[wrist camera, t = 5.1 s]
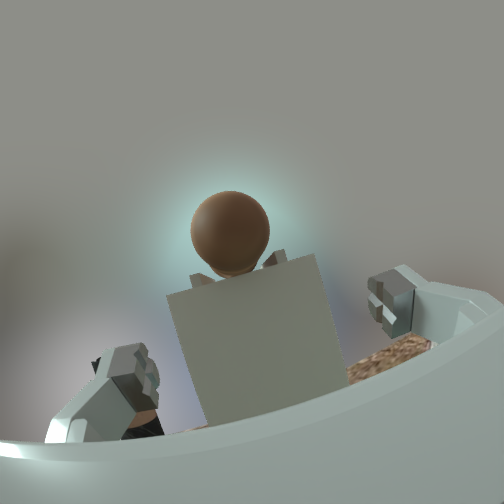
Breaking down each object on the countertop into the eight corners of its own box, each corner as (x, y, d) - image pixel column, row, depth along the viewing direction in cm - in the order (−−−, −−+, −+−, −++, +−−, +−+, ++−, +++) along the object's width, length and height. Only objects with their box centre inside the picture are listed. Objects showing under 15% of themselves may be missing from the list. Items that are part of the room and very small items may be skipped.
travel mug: (183, 456, 42) (142, 349, 44) (148, 477, 36) (100, 362, 38) (159, 448, 47) (121, 350, 49) (126, 465, 41) (84, 361, 43)
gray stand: (372, 499, 22) (310, 241, 24) (258, 535, 21) (162, 283, 23) (331, 439, 37) (282, 260, 40) (251, 464, 36) (192, 286, 39)
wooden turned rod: (293, 250, 15) (262, 154, 16) (189, 280, 15) (164, 181, 15) (260, 274, 37) (248, 232, 37) (218, 286, 37) (206, 244, 37)
